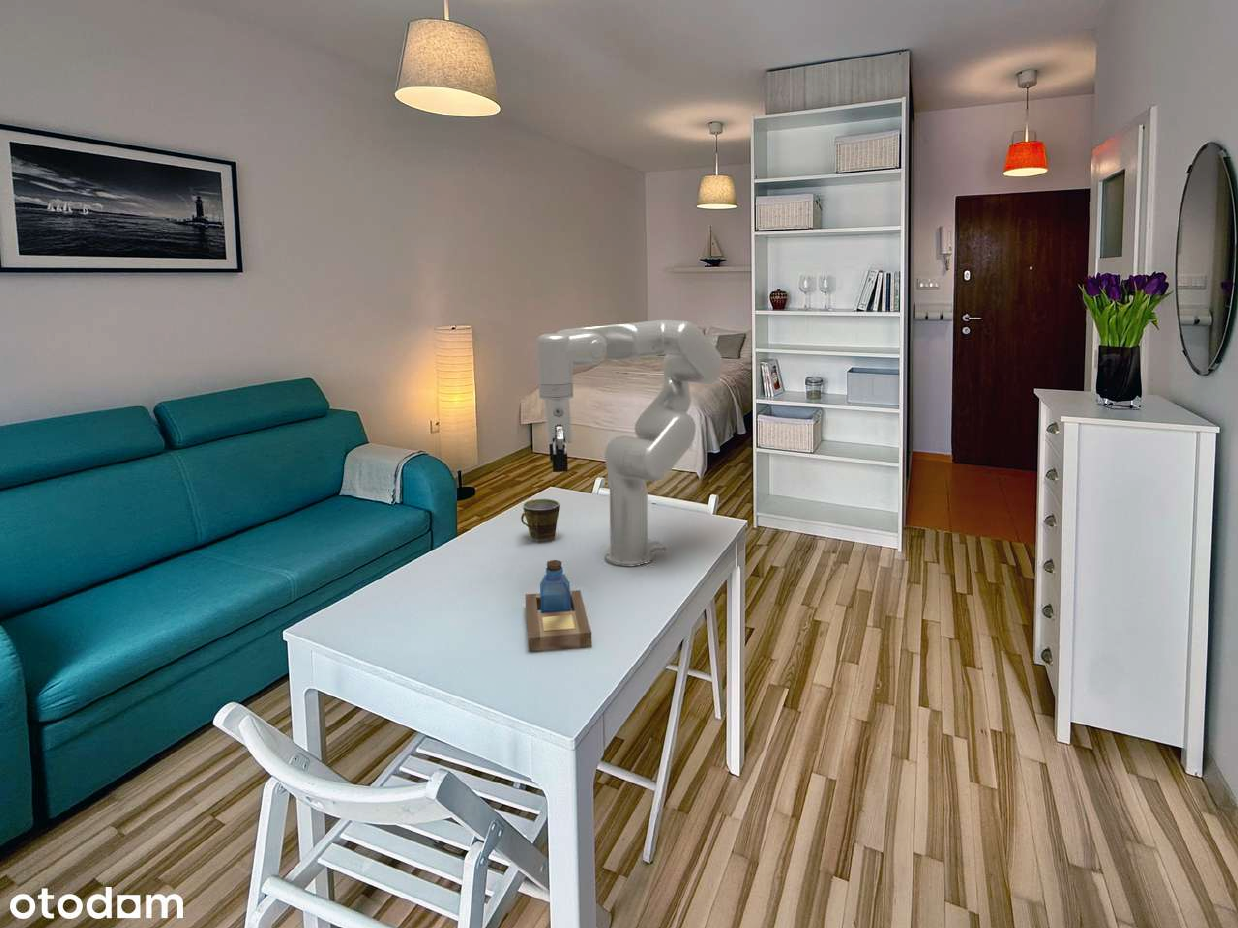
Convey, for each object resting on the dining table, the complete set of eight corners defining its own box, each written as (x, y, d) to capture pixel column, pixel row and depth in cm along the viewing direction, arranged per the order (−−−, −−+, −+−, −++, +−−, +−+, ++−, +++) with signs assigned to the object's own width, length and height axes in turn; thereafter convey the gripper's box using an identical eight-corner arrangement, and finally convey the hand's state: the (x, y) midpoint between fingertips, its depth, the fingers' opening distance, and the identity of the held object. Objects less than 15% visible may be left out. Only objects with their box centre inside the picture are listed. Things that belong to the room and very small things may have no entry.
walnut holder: (580, 602, 161) (580, 589, 161) (591, 646, 142) (591, 631, 142) (525, 606, 160) (525, 593, 159) (529, 652, 141) (528, 637, 140)
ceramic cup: (541, 530, 208) (539, 496, 205) (568, 537, 202) (567, 502, 199) (509, 543, 197) (507, 508, 195) (537, 551, 192) (535, 515, 189)
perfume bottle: (541, 610, 158) (539, 558, 155) (570, 608, 158) (568, 556, 155) (541, 623, 152) (539, 569, 149) (571, 621, 152) (569, 567, 149)
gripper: (577, 396, 153) (579, 475, 158) (569, 384, 170) (571, 456, 174) (541, 397, 152) (544, 477, 157) (537, 385, 169) (540, 457, 173)
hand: (558, 465), depth 165 cm, fingers open, 9 cm apart
